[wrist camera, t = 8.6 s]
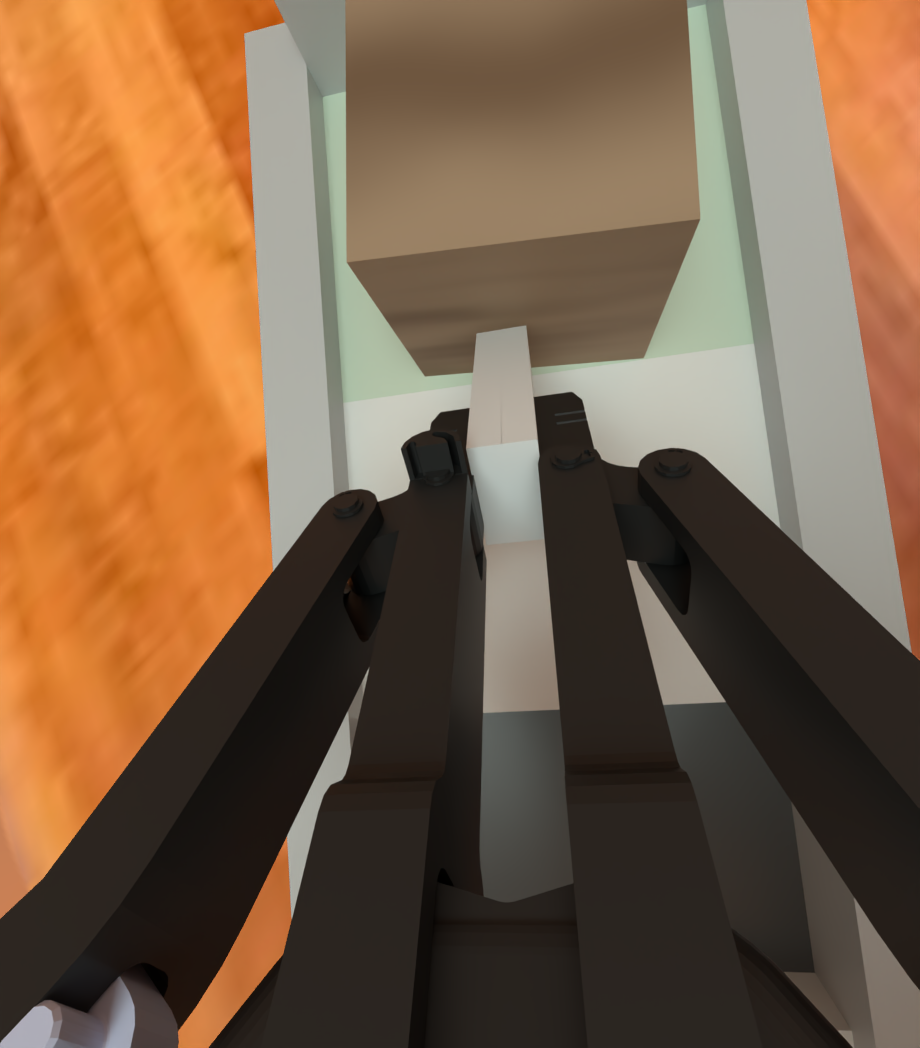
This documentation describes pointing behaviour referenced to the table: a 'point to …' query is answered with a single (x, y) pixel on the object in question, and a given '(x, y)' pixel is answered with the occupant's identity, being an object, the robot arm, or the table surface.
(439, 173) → the walnut block
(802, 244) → the track
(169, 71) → the table surface
